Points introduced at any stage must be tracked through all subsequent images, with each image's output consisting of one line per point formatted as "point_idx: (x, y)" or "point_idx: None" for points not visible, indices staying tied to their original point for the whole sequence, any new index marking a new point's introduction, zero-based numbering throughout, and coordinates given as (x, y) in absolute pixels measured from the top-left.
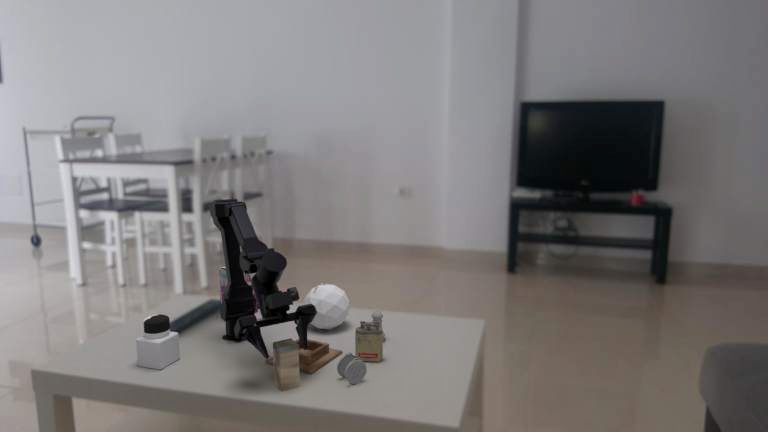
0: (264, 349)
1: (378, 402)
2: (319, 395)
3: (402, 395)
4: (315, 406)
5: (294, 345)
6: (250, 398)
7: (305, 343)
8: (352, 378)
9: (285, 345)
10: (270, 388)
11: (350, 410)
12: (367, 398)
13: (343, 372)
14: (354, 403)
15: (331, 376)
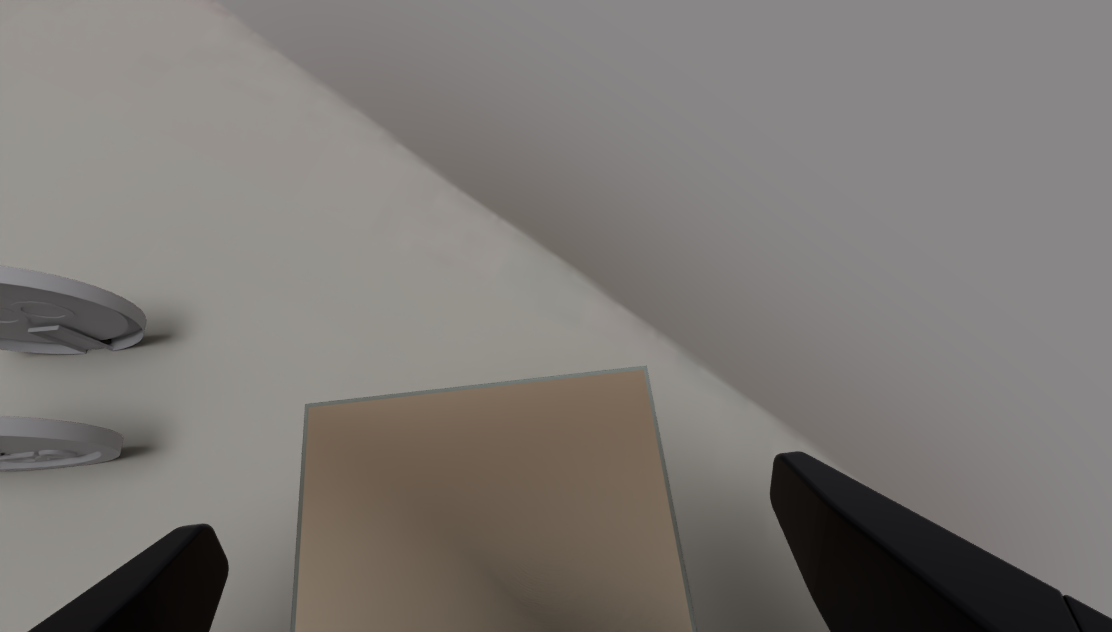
0: (892, 514)
1: (163, 107)
2: (389, 295)
3: (11, 115)
4: (463, 196)
5: (384, 406)
6: (810, 450)
7: (139, 572)
8: (95, 326)
9: (522, 477)
10: None
11: (326, 100)
12: (180, 159)
13: (77, 448)
14: (270, 144)
15: (169, 525)
